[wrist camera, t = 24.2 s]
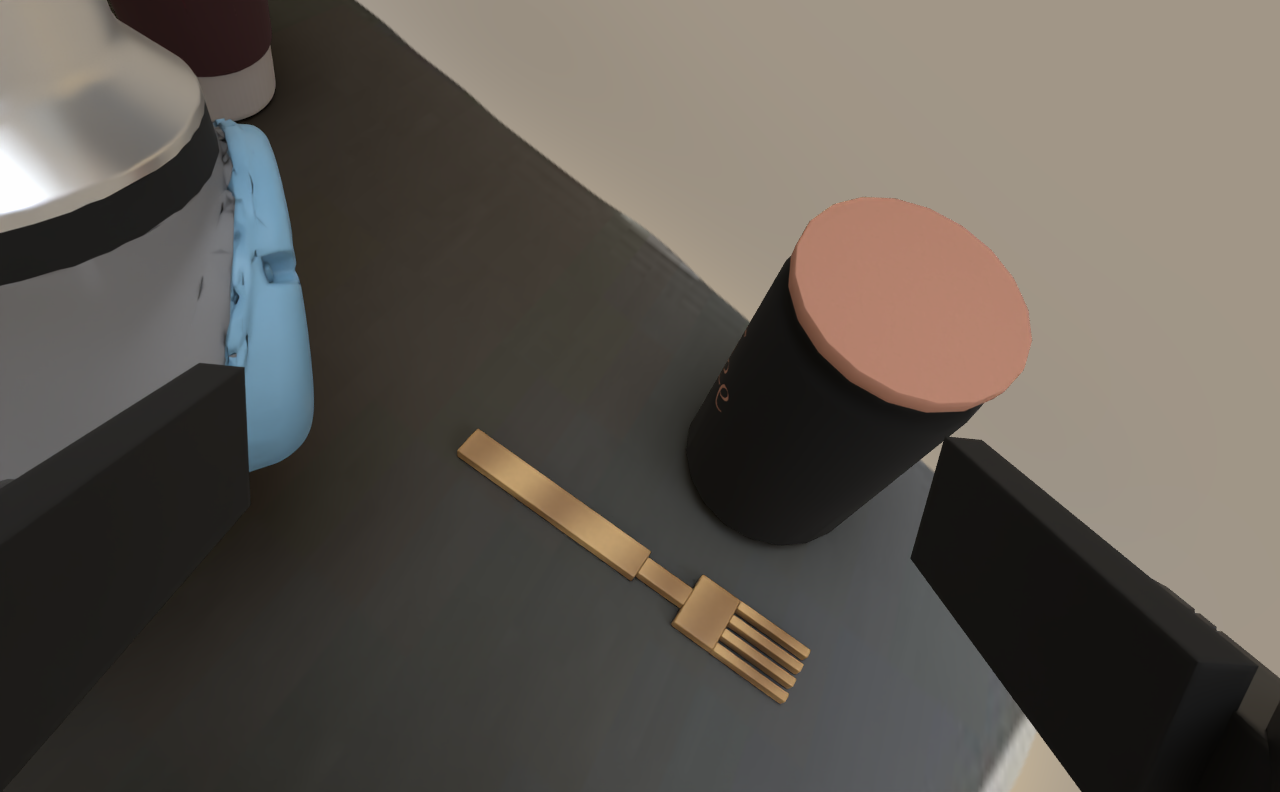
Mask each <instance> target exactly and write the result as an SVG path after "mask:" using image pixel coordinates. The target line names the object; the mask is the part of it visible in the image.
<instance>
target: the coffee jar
mask: <svg viewBox="0 0 1280 792" xmlns="http://www.w3.org/2000/svg"><path fill="white" fill-rule="evenodd" d="M1031 337H1032V336H1031V329H1030V320H1029V313H1028V308H1027V306H1026V304H1025V302H1024V299H1023V297H1022V295H1021V293H1020V291H1019V288H1018V287H1017V284H1016V282H1015V280H1014V278H1013V277H1012V275H1011V274H1010V273H1009V272H1008V270H1007V269H1006V268H1005V267H1004V265H1003V264H1002V263H1001V262H1000V261H999V259H998V258H997V257H996V255H995V254H994V253H993V252H992V250H991V249H989V248H988V247H987V246H986V245H985V244H983V243H982V242H981V241H980V240H979V239H977V238H976V237H975V236H974V235H973V234H971V233H970V232H969V231H968V230H966V229H965V228H964V227H963V226H961V225H959V224H957V223H956V222H954V221H952V220H950V219H948V218H946V217H944V216H943V215H941V214H939V213H937V212H935V211H933V210H931V209H929V208H926V207H923V206H919V205H916V204H912V203H909V202H906V201H902V200H898V199H894V198H874V197H861V198H856V199H853V200H849V201H845V202H841V203H837V204H833V205H832V206H831V207H829V208H828V209H826V210H825V211H823V212H822V213H821V214H819V215H818V216H816V217H815V218H814V219H812V220H811V221H810V222H809V223H808V225H807V226H806V228H805V230H804V232H803V234H802V236H801V237H800V239H799V241H798V242H797V244H796V246H795V249H794V251H793V253H792V255H791V256H790V257H789V258H788V259H787V260H786V262H785V263H784V265H783V267H782V268H781V270H780V272H779V274H778V275H777V277H776V279H775V280H774V282H773V284H772V286H771V287H770V289H769V291H768V292H767V294H766V296H765V298H764V299H763V301H762V303H761V305H760V306H759V308H758V310H757V311H756V313H755V315H754V316H753V318H752V320H751V322H750V323H749V325H748V327H747V328H746V330H745V332H744V334H743V335H742V337H741V339H740V340H739V342H738V344H737V346H736V347H735V349H734V351H733V352H732V354H731V356H730V358H729V359H728V361H727V363H726V364H725V366H724V368H723V370H722V371H721V373H720V375H719V376H718V378H717V380H716V382H715V383H714V385H713V387H712V388H711V390H710V392H709V394H708V395H707V397H706V399H705V400H704V402H703V404H702V406H701V407H700V409H699V411H698V413H697V414H696V416H695V418H694V420H693V421H692V423H691V425H690V429H689V435H688V442H687V448H686V452H687V457H688V462H689V468H690V473H691V478H692V480H693V482H694V484H695V486H696V488H697V490H698V491H699V493H700V495H701V497H702V499H703V501H704V503H705V504H706V505H707V506H708V507H709V508H710V509H711V510H712V511H713V512H714V513H715V514H716V515H717V516H718V517H719V518H720V519H721V521H722V522H723V523H724V524H726V525H728V526H729V527H731V528H733V529H735V530H736V531H738V532H740V533H741V534H743V535H745V536H747V537H748V538H751V539H755V540H759V541H763V542H768V543H772V544H776V545H787V544H800V543H807V542H810V541H812V540H814V539H816V538H818V537H820V536H823V535H825V534H827V533H829V532H830V531H832V530H833V529H834V528H835V527H837V526H838V525H839V524H840V523H842V522H843V521H844V520H845V519H847V518H848V517H849V516H850V515H852V514H853V513H854V512H855V511H857V510H858V509H859V508H860V507H862V506H863V505H864V504H865V503H867V502H868V501H869V500H870V499H872V498H873V497H874V496H875V495H877V494H878V493H879V492H880V491H882V490H883V489H884V488H885V487H887V486H888V485H889V484H890V483H892V482H893V481H894V480H895V479H897V478H898V477H899V476H900V475H902V474H903V473H904V472H905V471H907V470H908V469H909V468H910V467H912V466H913V465H914V464H915V463H917V462H918V461H919V460H920V459H922V458H923V457H924V456H925V455H927V454H928V453H929V452H930V451H932V450H933V449H934V448H935V447H936V446H938V445H939V444H940V443H942V442H943V441H944V438H945V436H946V437H949V436H950V435H951V434H953V433H954V432H955V431H957V430H958V429H959V428H960V427H961V426H963V425H964V424H965V423H967V421H968V420H969V419H970V418H971V417H972V416H973V415H974V414H975V413H976V411H977V410H978V409H979V408H980V407H981V406H982V405H983V404H984V403H985V402H987V401H989V400H992V399H994V398H995V397H997V396H998V395H1000V394H1002V393H1003V392H1004V391H1005V390H1006V389H1007V388H1008V387H1009V386H1010V385H1011V384H1012V382H1013V381H1014V380H1015V379H1016V378H1017V377H1018V376H1019V375H1020V374H1021V372H1022V371H1023V370H1024V367H1025V364H1026V361H1027V357H1028V353H1029V350H1030V346H1031V342H1032V338H1031Z"/></svg>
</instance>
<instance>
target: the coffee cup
mask: <svg viewBox="0 0 1280 792" xmlns="http://www.w3.org/2000/svg"><path fill="white" fill-rule="evenodd" d="M110 2H111V4H112V6H113V8H114V10H115V12H116V14H117V16H118V18H119V20H120V21H121V22H123V23H124V24H126V25H128V26H129V27H131V28H132V29H134V30H136V31H137V32H139V33H141V34H142V35H144V36H146V37H147V38H149V39H150V40H152V41H154V42H155V43H157V44H159V45H160V46H162V47H164V48H165V49H167V50H168V51H170V52H172V53H173V54H175V55H176V56H178V57H180V58H181V59H182V60H183V61H184V62H185V63H186V64H187V65H188V66H189V67H190V69H191V70H192V71H193V72H194V74H195V75H196V76H197V78H198V81H199V84H200V86H201V89H202V92H203V95H204V99H205V102H206V105H207V108H208V112H209V115H210V118H211V121H212V122H214V121H215V120H216V119H223V118H225V120H229V119H231V120H232V121H238V120H241V119H244V118H247V117H250V116H252V115H254V114H256V113H257V112H259V111H260V110H262V109H263V108H264V107H265V106H266V105H267V104H268V103H269V102H270V100H271V99H272V97H273V95H274V92H275V85H276V82H275V74H274V67H273V60H272V53H271V46H270V44H271V40H272V28H271V21H270V14H269V7H268V0H110Z"/></svg>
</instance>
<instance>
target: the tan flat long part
mask: <svg viewBox="0 0 1280 792" xmlns="http://www.w3.org/2000/svg"><path fill="white" fill-rule="evenodd" d="M457 456H458V457H459V458H461V459H462V460H463V461H465V462H466V463H468V464H469V465H470V466H472V467H473V468H474V469H476V470H477V471H479V472H480V473H481V474H483V475H484V476H486V477H487V478H488V479H490V480H491V481H493V482H494V483H495V484H497V485H498V486H500V487H501V488H502V489H504V490H505V491H506V492H508V493H509V494H511V495H512V496H513V497H515V498H516V499H518V500H519V501H520V502H522V503H523V504H525V505H526V506H527V507H529V508H530V509H531V510H533V511H534V512H536V513H537V514H538V515H540V516H541V517H543V518H544V519H545V520H547V521H548V522H550V523H551V524H552V525H554V526H555V527H556V528H558V529H559V530H561V531H562V532H563V533H565V534H566V535H568V536H569V537H570V538H572V539H573V540H575V541H576V542H577V543H579V544H580V545H581V546H583V547H584V548H586V549H587V550H588V551H590V552H591V553H593V554H594V555H595V556H597V557H598V558H600V559H601V560H602V561H604V562H605V563H606V564H608V565H609V566H611V567H612V568H613V569H615V570H616V571H618V572H619V573H620V574H622V575H623V576H625V577H626V578H627V579H629V580H630V581H632V580H633V578H634V577H635V575H636V577H637V578H638V579H639V580H641V581H642V582H644V583H645V584H646V585H648V586H649V587H651V588H652V589H653V590H655V591H656V592H658V593H659V594H660V595H662V596H663V597H664V598H666V599H667V600H669V601H670V602H671V603H673V604H674V605H676V606H677V607H678V608H680V610H679V612H678V613H677V615H676V616H675V618H674V620H673V621H672V623H671V625H672V626H673V627H674V628H676V629H677V630H678V631H680V632H681V633H682V634H684V635H685V636H687V637H688V638H689V639H691V640H692V641H694V642H695V643H696V644H698V645H699V646H700V647H702V648H703V649H705V650H706V651H707V652H709V653H710V654H711V655H713V656H714V657H715V658H717V659H718V660H720V661H721V662H722V663H724V664H725V665H726V666H728V667H729V668H731V669H732V670H733V671H735V672H736V673H738V674H739V675H740V676H742V677H743V678H744V679H746V680H747V681H749V682H750V683H751V684H753V685H754V686H756V687H757V688H758V689H760V690H761V691H762V692H764V693H765V694H767V695H768V696H769V697H771V698H772V699H773V700H775V701H776V702H778V703H779V704H781V703H784V702H786V700H787V698H788V696H789V694H788V693H787V692H786V691H784V690H783V689H781V688H780V687H779V686H777V685H776V684H775V683H773V682H772V681H770V680H769V679H768V678H766V677H765V676H763V675H762V674H761V673H759V672H758V671H756V670H755V669H754V668H752V667H751V666H750V665H748V664H747V663H745V662H744V661H743V660H741V659H740V658H738V657H737V656H736V655H734V654H733V653H731V652H730V651H729V650H727V649H726V648H725V647H723V646H722V645H720V644H719V643H717V642H718V640H720V641H721V642H722V643H724V644H725V645H727V646H728V647H729V648H731V649H732V650H733V651H735V652H736V653H738V654H739V655H740V656H742V657H743V658H745V659H746V660H747V661H749V662H750V663H752V664H753V665H754V666H756V667H757V668H759V669H760V670H761V671H763V672H764V673H765V674H767V675H768V676H770V677H771V678H772V679H774V680H775V681H777V682H778V683H779V684H781V685H782V686H784V687H785V688H786V689H789V688H791V687H793V685H794V683H795V681H796V678H794V677H793V676H791V675H790V674H789V673H787V672H786V671H785V670H783V669H782V668H780V667H779V666H778V665H776V664H775V663H773V662H772V661H771V660H769V659H768V658H766V657H765V656H764V655H762V654H761V653H759V652H758V651H757V650H755V649H754V648H752V647H751V646H750V645H748V644H747V643H745V642H744V641H743V640H741V639H740V638H738V637H737V636H736V635H734V634H733V633H731V632H730V631H729V630H727V629H725V628H726V626H727V627H729V628H730V629H731V630H733V631H734V632H736V633H737V634H738V635H740V636H741V637H743V638H744V639H745V640H747V641H748V642H750V643H751V644H752V645H754V646H755V647H757V648H758V649H759V650H761V651H762V652H764V653H765V654H766V655H768V656H769V657H771V658H772V659H773V660H775V661H776V662H778V663H779V664H780V665H782V666H783V667H785V668H786V669H787V670H789V671H790V672H792V673H793V674H797V673H799V672H800V671H801V669H802V667H803V664H802V663H801V662H799V661H798V660H797V659H795V658H794V657H792V656H791V655H790V654H788V653H787V652H785V651H784V650H783V649H781V648H780V647H778V646H777V645H776V644H774V643H773V642H771V641H770V640H769V639H767V638H766V637H764V636H763V635H762V634H760V633H759V632H757V631H756V630H755V629H753V628H752V627H750V626H749V625H748V624H746V623H745V622H743V621H742V620H741V619H739V618H738V617H736V616H735V615H733V614H734V613H736V614H737V615H739V616H740V617H741V618H743V619H744V620H746V621H747V622H748V623H750V624H751V625H753V626H754V627H755V628H757V629H758V630H760V631H761V632H762V633H764V634H765V635H767V636H768V637H770V638H771V639H772V640H774V641H775V642H777V643H778V644H779V645H781V646H782V647H784V648H785V649H786V650H788V651H789V652H791V653H792V654H793V655H795V656H796V657H798V658H799V659H800V660H803V659H805V658H807V657H808V655H809V653H810V651H811V650H810V649H808V648H807V647H805V646H804V645H803V644H801V643H800V642H798V641H797V640H796V639H794V638H793V637H791V636H790V635H789V634H787V633H786V632H784V631H783V630H781V629H780V628H779V627H777V626H776V625H774V624H773V623H772V622H770V621H769V620H767V619H766V618H765V617H763V616H762V615H760V614H759V613H757V612H756V611H755V610H753V609H752V608H750V607H749V606H748V605H746V604H745V603H743V602H742V601H741V602H740V600H739V599H737V598H736V597H735V596H733V595H732V594H730V593H729V592H727V591H726V590H725V589H723V588H722V587H720V586H719V585H718V584H716V583H715V582H713V581H712V580H711V579H709V578H708V577H706V576H705V575H702V576H701V577H700V578H699V579H698V581H697V583H696V584H695V586H694V587H693V589H692V588H691V587H689V586H688V585H687V584H685V583H684V582H682V581H681V580H680V579H678V578H677V577H675V576H674V575H673V574H671V573H670V572H668V571H667V570H666V569H664V568H663V567H661V566H660V565H659V564H657V563H656V562H654V561H653V560H652V559H650V558H648V556H649V555H650V553H651V551H650V550H648V549H647V548H645V547H644V546H642V545H641V544H640V543H638V542H637V541H635V540H634V539H633V538H631V537H630V536H628V535H627V534H626V533H624V532H623V531H621V530H620V529H619V528H617V527H616V526H614V525H613V524H612V523H610V522H609V521H607V520H606V519H605V518H603V517H602V516H600V515H599V514H598V513H596V512H595V511H593V510H592V509H590V508H589V507H588V506H586V505H585V504H583V503H582V502H581V501H579V500H578V499H576V498H575V497H574V496H572V495H571V494H569V493H568V492H567V491H565V490H564V489H562V488H561V487H560V486H558V485H557V484H555V483H554V482H553V481H551V480H550V479H548V478H547V477H546V476H544V475H543V474H541V473H540V472H538V471H537V470H536V469H534V468H533V467H531V466H530V465H529V464H527V463H526V462H524V461H523V460H522V459H520V458H519V457H517V456H516V455H515V454H513V453H512V452H510V451H509V450H508V449H506V448H505V447H503V446H502V445H501V444H499V443H498V442H496V441H495V440H494V439H492V438H491V437H489V436H488V435H486V434H485V433H484V432H482V431H481V430H479V429H477V430H476V431H475V432H474V433H473V434H472V435H471V436H470V437H469V438H468V439H467V440H466V441H465V442H464V444H463V445H462V446H461V447H460V448H459V449H458V450H457Z"/></svg>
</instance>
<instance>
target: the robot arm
mask: <svg viewBox="0 0 1280 792" xmlns="http://www.w3.org/2000/svg"><path fill="white" fill-rule="evenodd" d="M295 266H296V258H295V253H294V249H293V241H292V229H291V224H290V219H289V214H288V209H287V204H286V199H285V195H284V190H283V186H282V182H281V178H280V174H279V170H278V166H277V162H276V159H275V156H274V153H273V150H272V148H271V145H270V142H269V140H268V138H267V137H266V135H265V134H264V133H263V132H262V131H261V130H260V129H259V128H257V127H255V126H253V125H248V124H237V123H236V122H234V121H232V120H231V119H229V120H225V118H223V119H216V120H215V121H214V123H212V121H211V118H210V115H209V112H208V108H207V105H206V102H205V99H204V95H203V92H202V89H201V86H200V84H199V81H198V78H197V76H196V75H195V74H194V72H193V71H192V70H191V69H190V67H189V66H188V65H187V64H186V63H185V62H184V61H183V60H182V59H181V58H180V57H178V56H176V55H175V54H173V53H172V52H170V51H168V50H167V49H165V48H164V47H162V46H160V45H159V44H157V43H155V42H154V41H152V40H150V39H149V38H147V37H146V36H144V35H142V34H141V33H139V32H137V31H136V30H134V29H132V28H131V27H129V26H128V25H126V24H124V23H123V22H121V21H119V20H118V19H116V17H115V16H114V14H113V13H112V12H111V10H110V8H109V5H108V2H107V0H0V792H2V791H3V790H4V789H5V787H6V786H7V785H8V784H9V783H10V782H11V780H12V779H13V778H14V777H15V776H16V775H17V774H18V772H19V771H20V770H21V769H22V768H23V767H24V765H25V764H26V763H27V762H28V761H29V760H30V759H31V757H32V756H33V755H34V754H35V753H36V752H37V751H38V749H39V748H40V747H41V746H42V745H43V744H44V742H45V741H46V740H47V739H48V738H49V737H50V736H51V734H52V733H53V732H54V731H55V730H56V729H57V727H58V726H59V725H60V724H61V723H62V722H63V721H64V719H65V718H66V717H67V716H68V715H69V714H70V712H71V711H72V710H73V709H74V708H75V707H76V706H77V704H78V703H79V702H80V701H81V700H82V699H83V698H84V696H85V695H86V694H87V693H88V692H89V691H90V689H91V688H92V687H93V686H94V685H95V684H96V683H97V681H98V680H99V679H100V678H101V677H102V676H103V674H104V673H105V672H106V671H107V670H108V669H109V668H110V666H111V665H112V664H113V663H114V662H115V661H116V660H117V658H118V657H119V656H120V655H121V654H122V653H123V651H124V650H125V649H126V648H127V647H128V646H129V645H130V643H131V642H132V641H133V640H134V639H135V638H136V636H137V635H138V634H139V633H140V632H141V631H142V630H143V628H144V627H145V626H146V625H147V624H148V623H149V621H150V620H151V619H152V618H153V617H154V616H155V615H156V613H157V612H158V611H159V610H160V609H161V608H162V607H163V605H164V604H165V603H166V602H167V601H168V600H169V598H170V597H171V596H172V595H173V594H174V593H175V592H176V590H177V589H178V588H179V587H180V586H181V585H182V583H183V582H184V581H185V580H186V579H187V578H188V577H189V575H190V574H191V573H192V572H193V571H194V570H195V569H196V567H197V566H198V565H199V564H200V563H201V562H202V560H203V559H204V558H205V557H206V556H207V555H208V554H209V552H210V551H211V550H212V549H213V548H214V547H215V545H216V544H217V543H218V542H219V541H220V540H221V539H222V537H223V536H224V535H225V534H226V533H227V532H228V530H229V529H230V528H231V527H232V526H233V525H234V524H235V522H236V521H237V520H238V519H239V518H240V517H241V516H242V514H243V513H244V512H245V511H246V510H247V509H248V507H249V506H250V505H251V503H250V480H249V472H251V471H254V470H257V469H260V468H263V467H266V466H269V465H272V464H275V463H278V462H280V461H282V460H284V459H285V458H287V457H289V456H290V455H291V454H292V453H293V452H295V451H296V450H297V449H298V448H299V447H300V446H301V445H302V443H303V442H304V441H305V439H306V437H307V435H308V433H309V431H310V428H311V425H312V420H313V412H314V388H313V374H312V363H311V353H310V344H309V336H308V328H307V321H306V313H305V307H304V301H303V295H302V289H301V285H300V281H299V278H298V275H297V273H296V272H295ZM910 559H911V560H912V561H913V563H914V564H915V565H916V567H917V568H918V569H919V571H920V572H921V574H922V575H923V576H924V578H925V579H926V580H927V582H928V583H929V584H930V586H931V587H932V589H933V590H934V591H935V593H936V594H937V595H938V597H939V598H940V599H941V601H942V602H943V603H944V605H945V606H946V608H947V609H948V610H949V612H950V613H951V614H952V616H953V617H954V618H955V620H956V621H957V623H958V624H959V625H960V627H961V628H962V629H963V631H964V632H965V633H966V635H967V636H968V638H969V639H970V640H971V642H972V643H973V644H974V646H975V647H976V648H977V650H978V651H979V653H980V654H981V655H982V657H983V658H984V659H985V661H986V662H987V663H988V665H989V666H990V668H991V669H992V670H993V672H994V673H995V674H996V676H997V677H998V678H999V680H1000V681H1001V683H1002V684H1003V685H1004V687H1005V688H1006V689H1007V691H1008V692H1009V693H1010V695H1011V696H1012V698H1013V699H1014V700H1015V702H1016V703H1017V704H1018V706H1019V707H1020V708H1021V710H1022V711H1023V713H1024V714H1025V715H1026V717H1027V718H1028V719H1029V721H1030V722H1031V723H1032V725H1033V726H1034V728H1035V729H1036V730H1037V732H1038V733H1039V734H1040V736H1041V737H1042V738H1043V740H1044V741H1045V742H1046V744H1047V745H1048V747H1049V748H1050V749H1051V751H1052V752H1053V753H1054V755H1055V756H1056V758H1057V759H1058V760H1059V762H1060V763H1061V764H1062V766H1063V767H1064V768H1065V770H1066V771H1067V773H1068V774H1069V775H1070V777H1071V778H1072V779H1073V781H1074V782H1075V783H1076V785H1077V786H1078V787H1079V789H1080V790H1081V792H1280V678H1279V677H1277V676H1276V675H1275V674H1274V673H1272V672H1271V671H1270V670H1269V669H1268V668H1267V667H1265V666H1264V665H1263V664H1261V663H1260V662H1259V661H1258V660H1257V659H1255V658H1254V657H1253V656H1252V655H1250V654H1249V653H1248V652H1247V651H1246V650H1244V649H1243V648H1242V647H1241V646H1239V645H1238V644H1237V643H1235V642H1234V641H1233V640H1232V639H1231V638H1229V637H1228V636H1227V635H1226V634H1224V633H1223V632H1220V631H1217V630H1216V626H1215V625H1213V624H1212V623H1211V622H1210V621H1208V620H1207V619H1206V618H1204V617H1203V616H1202V615H1201V614H1198V613H1195V611H1194V610H1195V609H1194V608H1192V607H1191V606H1190V605H1189V604H1187V603H1186V602H1185V601H1184V600H1182V599H1181V598H1180V597H1179V596H1178V595H1176V594H1175V593H1174V592H1173V591H1171V590H1170V589H1169V588H1167V587H1166V586H1164V585H1162V584H1160V583H1159V582H1157V581H1155V580H1153V579H1151V578H1150V577H1149V576H1148V575H1146V574H1145V573H1144V572H1143V571H1142V570H1140V569H1139V568H1138V567H1137V566H1135V565H1134V564H1133V563H1132V562H1131V561H1129V560H1128V559H1127V558H1126V557H1124V556H1123V555H1122V554H1121V553H1120V552H1118V551H1117V550H1116V549H1115V548H1113V547H1112V546H1111V545H1110V544H1108V543H1107V542H1106V541H1105V540H1103V539H1102V538H1101V537H1100V536H1099V535H1097V534H1096V533H1095V532H1094V531H1093V530H1091V529H1090V528H1089V527H1088V526H1087V525H1085V524H1084V523H1083V522H1082V521H1080V520H1079V519H1078V518H1077V517H1075V516H1074V515H1073V514H1072V513H1070V512H1069V511H1068V510H1067V509H1066V508H1064V507H1063V506H1062V505H1061V504H1059V503H1058V502H1057V501H1056V500H1055V499H1053V498H1052V497H1051V496H1050V495H1049V494H1047V493H1046V492H1045V491H1044V490H1042V489H1041V488H1040V487H1039V486H1038V485H1036V484H1035V483H1034V482H1033V481H1031V480H1030V479H1029V478H1028V477H1027V476H1025V475H1024V474H1023V473H1022V472H1020V471H1019V470H1018V469H1017V468H1016V467H1014V466H1013V465H1012V464H1010V463H1009V462H1008V461H1007V460H1006V459H1004V458H1003V457H1002V456H1001V455H1000V454H998V453H997V452H996V451H995V450H993V449H992V448H991V447H990V446H988V445H987V444H986V443H985V442H984V441H982V440H975V439H966V438H956V437H946V436H945V438H944V442H943V445H942V449H941V452H940V456H939V460H938V463H937V466H936V470H935V473H934V477H933V481H932V484H931V488H930V491H929V495H928V498H927V502H926V505H925V509H924V512H923V516H922V519H921V523H920V527H919V530H918V534H917V537H916V541H915V544H914V548H913V551H912V555H911V558H910Z"/></svg>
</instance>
